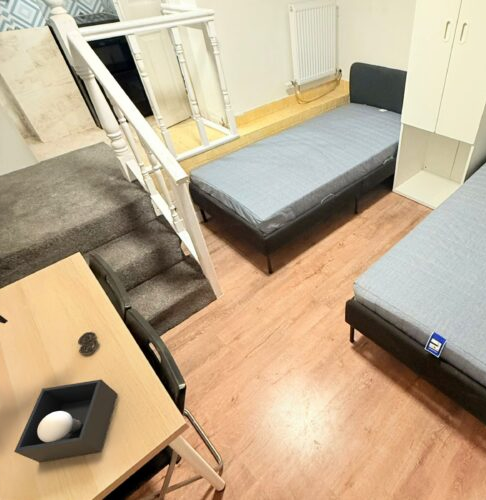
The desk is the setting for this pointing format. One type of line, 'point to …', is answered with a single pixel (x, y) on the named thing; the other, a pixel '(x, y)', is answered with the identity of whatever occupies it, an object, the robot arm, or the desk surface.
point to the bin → (80, 408)
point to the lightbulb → (57, 426)
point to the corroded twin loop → (87, 343)
